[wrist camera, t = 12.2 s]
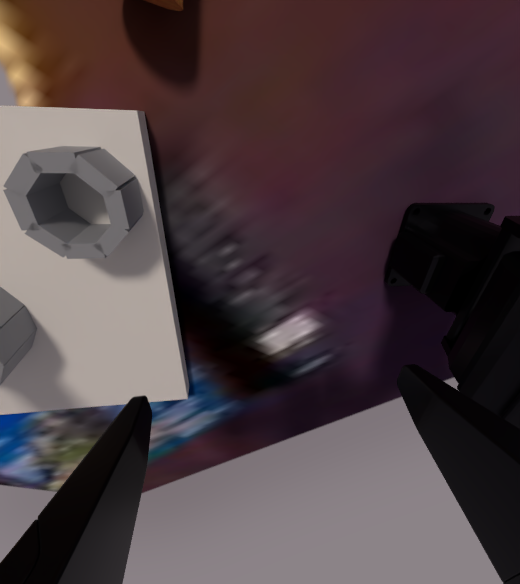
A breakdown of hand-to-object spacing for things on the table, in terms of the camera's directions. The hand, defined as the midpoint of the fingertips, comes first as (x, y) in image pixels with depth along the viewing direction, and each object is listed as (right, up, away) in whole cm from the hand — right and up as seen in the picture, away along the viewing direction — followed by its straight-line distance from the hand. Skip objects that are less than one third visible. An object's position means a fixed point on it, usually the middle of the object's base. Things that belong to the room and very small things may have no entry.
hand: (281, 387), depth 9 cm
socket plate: (-16, +3, +10) cm, 19 cm away
